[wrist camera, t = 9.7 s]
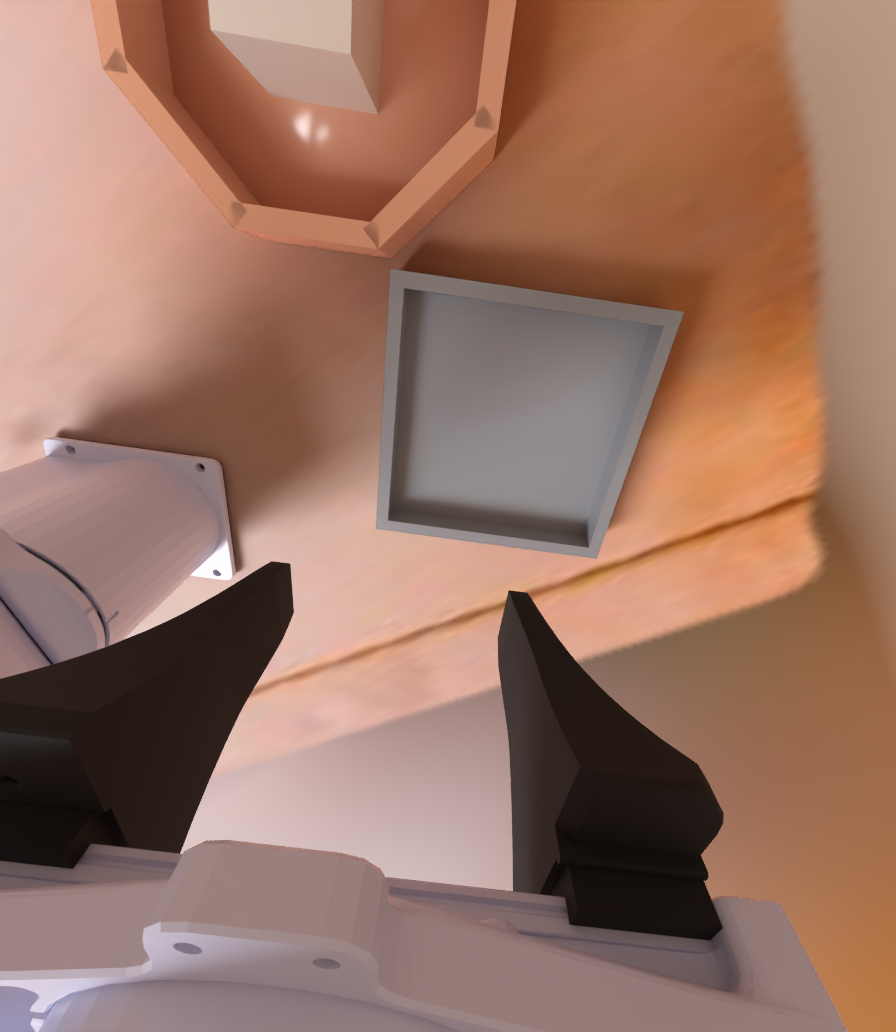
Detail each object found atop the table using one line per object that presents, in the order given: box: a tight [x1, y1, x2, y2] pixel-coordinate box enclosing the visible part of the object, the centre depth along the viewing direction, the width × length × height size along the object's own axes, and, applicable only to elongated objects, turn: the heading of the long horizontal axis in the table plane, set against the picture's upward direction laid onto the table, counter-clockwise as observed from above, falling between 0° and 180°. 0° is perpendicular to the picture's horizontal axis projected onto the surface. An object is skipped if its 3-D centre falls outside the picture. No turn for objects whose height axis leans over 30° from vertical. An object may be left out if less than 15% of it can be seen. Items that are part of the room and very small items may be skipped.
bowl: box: [90, 0, 517, 259], centre depth 13 cm, size 13×13×3 cm
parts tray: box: [376, 269, 684, 559], centre depth 20 cm, size 12×12×2 cm
